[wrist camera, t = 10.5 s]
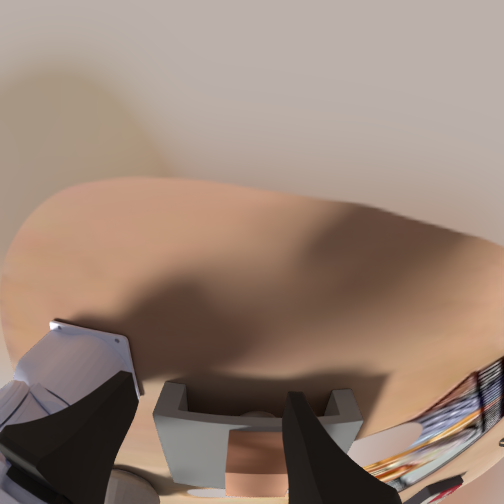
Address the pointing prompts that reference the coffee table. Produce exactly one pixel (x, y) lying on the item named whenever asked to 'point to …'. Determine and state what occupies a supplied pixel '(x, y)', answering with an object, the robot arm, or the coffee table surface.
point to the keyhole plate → (217, 432)
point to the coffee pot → (129, 489)
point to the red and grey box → (436, 492)
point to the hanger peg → (256, 462)
